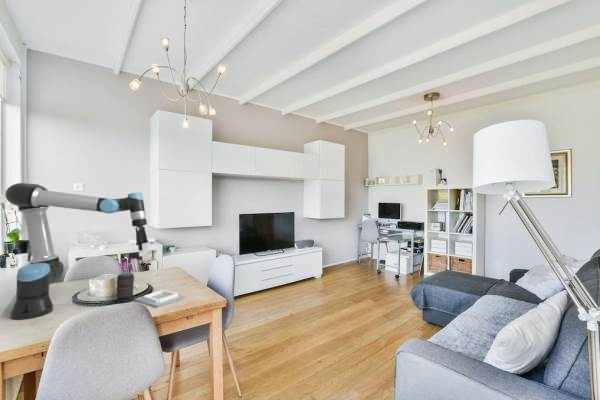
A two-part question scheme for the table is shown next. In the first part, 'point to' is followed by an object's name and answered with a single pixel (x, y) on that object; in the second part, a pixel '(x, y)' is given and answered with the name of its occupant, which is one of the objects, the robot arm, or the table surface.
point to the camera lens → (125, 287)
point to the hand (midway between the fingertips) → (144, 254)
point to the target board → (160, 298)
